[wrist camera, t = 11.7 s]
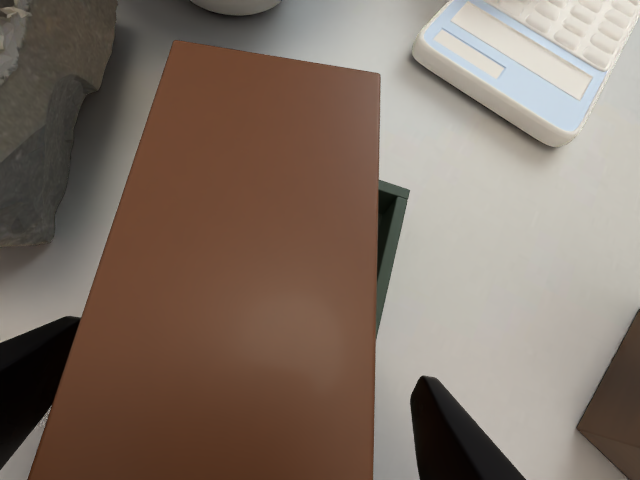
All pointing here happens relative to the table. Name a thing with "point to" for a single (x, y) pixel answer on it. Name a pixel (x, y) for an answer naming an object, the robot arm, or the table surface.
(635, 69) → the table surface
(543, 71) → the calculator
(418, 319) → the table surface
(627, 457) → the block
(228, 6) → the vase
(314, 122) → the chocolate box
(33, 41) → the rock
